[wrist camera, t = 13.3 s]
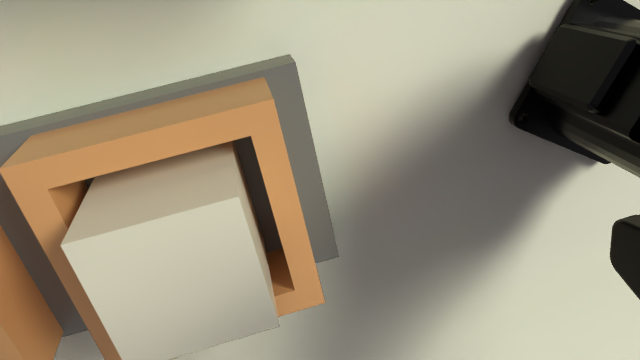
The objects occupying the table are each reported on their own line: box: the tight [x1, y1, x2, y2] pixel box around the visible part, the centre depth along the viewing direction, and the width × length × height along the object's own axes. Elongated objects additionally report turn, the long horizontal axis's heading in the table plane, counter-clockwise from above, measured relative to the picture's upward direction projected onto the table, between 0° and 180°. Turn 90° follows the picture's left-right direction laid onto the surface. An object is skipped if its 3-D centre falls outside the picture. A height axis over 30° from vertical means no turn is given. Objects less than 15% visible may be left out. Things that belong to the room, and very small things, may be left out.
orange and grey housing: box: [0, 54, 339, 360], centre depth 17 cm, size 21×9×7 cm, turn 102°
